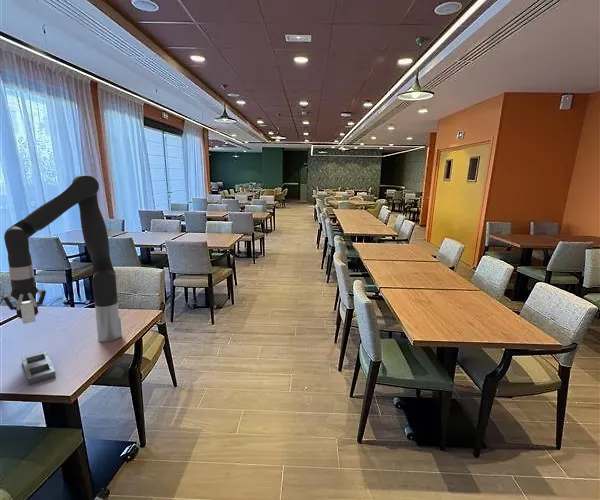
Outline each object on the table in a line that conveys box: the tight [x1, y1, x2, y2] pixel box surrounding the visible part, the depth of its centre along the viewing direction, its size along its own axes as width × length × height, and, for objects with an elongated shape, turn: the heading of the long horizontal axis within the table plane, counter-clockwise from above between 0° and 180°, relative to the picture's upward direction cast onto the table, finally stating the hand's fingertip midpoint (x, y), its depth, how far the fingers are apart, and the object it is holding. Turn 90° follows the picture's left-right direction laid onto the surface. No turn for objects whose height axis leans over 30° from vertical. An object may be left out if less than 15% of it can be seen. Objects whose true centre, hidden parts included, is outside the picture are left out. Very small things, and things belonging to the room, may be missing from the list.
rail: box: [21, 350, 57, 386], centre depth 128 cm, size 8×20×2 cm, turn 44°
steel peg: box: [20, 300, 37, 325], centre depth 135 cm, size 4×4×8 cm
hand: (28, 316), depth 135 cm, fingers closed on steel peg, 4 cm apart
